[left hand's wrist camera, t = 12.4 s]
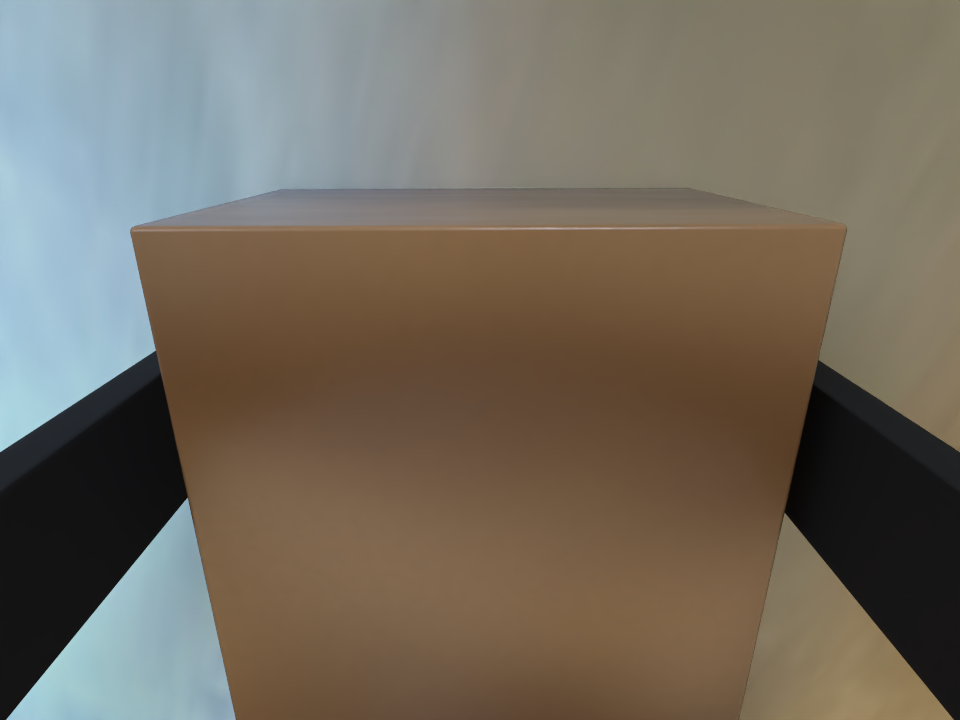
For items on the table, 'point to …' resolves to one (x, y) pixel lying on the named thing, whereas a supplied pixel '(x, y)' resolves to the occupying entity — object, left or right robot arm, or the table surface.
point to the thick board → (488, 442)
